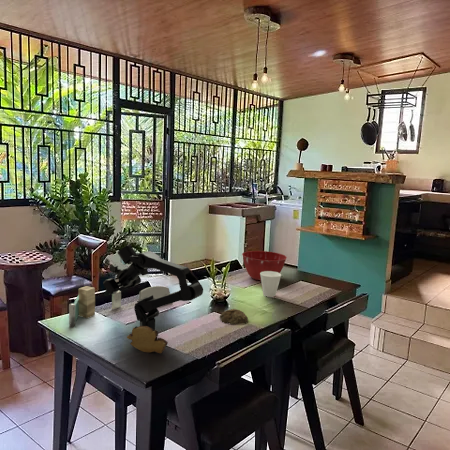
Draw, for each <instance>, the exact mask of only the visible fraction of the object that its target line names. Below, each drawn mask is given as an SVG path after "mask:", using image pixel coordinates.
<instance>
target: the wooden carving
mask: <svg viewBox="0 0 450 450" xmlns="http://www.w3.org/2000/svg"><path fill="white" fill-rule="evenodd" d="M157 330H158V329H156V330H153V329H152V328H150V327H147V326H140V325H139V326H135V327H133V328H132V331H131V333H129V334H128V335H127V336H126V338H127V339H128V340H130V345H131V346H132V347H134V348H135V349H136V350H139V351H140V352H144V353H154V352H155V353H157V354H163V352H164V351H165V350H166V349H165V348H166V346H168V343H169V341H167V340H166V339H165V338H162V337H158V336H159V331H158V332H157Z"/></svg>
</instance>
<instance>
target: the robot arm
mask: <svg viewBox="0 0 450 450" xmlns="http://www.w3.org/2000/svg"><path fill="white" fill-rule="evenodd" d="M117 254H118V257H120V259H121V260H122V262H121V261H117V262H113V263H112V264H110V265H109V271H110V272H111V273H112V274H115V275H116V276H115V277H116V279H117V280H118V281H116V280H115V278H112V277H110V278H108V279H105V280H103V282H102V283H103V286H104V288H105V290H104V294H103V295H104V297H109V296H112V294H115V293H117V292H118V291H121V292H122V291H125V290H126V289H127V290H128V289H130V288H133V287H136V286H137V285H139V284H140V283H141V282H142V279H141V277H140V276H146V275H148V274H149V270H148V269H155V270H158V271H161V272H164V273H167V274H169V275H172V276H175V277H176V278H177V279H178V284H179V285H178V286H179V290H177V291H175V292H172V293H170V294H168V295H165V296H162V297H159V298H153V295H152V296H150V297H146V298H143V299H141V300H139V299H138V300H137V301H136V303H135V304H134V308H133V309H134V313H135V316H136V317H135V318H136V320H137V321H139V326H147V327H150V328H152V329H153V330H157V332H158V333H159V330H158V329H156V317H158V316H159V315H160V311H159V309H158V308H161V307H164V306H168V305H172V304H171V303H173V304H174V303H177V302H188V301H189V302H190V301H193V300H195V299H197V298H198V297H199V298H200V297H201V296H202V295H203V293H204V287H203V285H202V284H201V283H200V281H199V279H198V277H197V276H195V274H194V273H192V272H191V269H190V268H189V267H188V266H183V265H181V264H178V263H175V262H172V261H169V260H166V259H162V258H160V256H159V255H158V254H157V253H155V252H153V251H150V250H148V251H144V252H139V253H136V251H135V250H134V248H133V246H132V245H131V244H127V245H126V246H124V247H122V248H121V249H119V250H118V251H117ZM126 265H129V266H128V267H127V266H126ZM188 282H189V283H190V284H188Z"/></svg>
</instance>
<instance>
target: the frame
mask: <svg viewBox="0 0 450 450" xmlns="http://www.w3.org/2000/svg"><path fill="white" fill-rule="evenodd" d="M121 307H122V291H120V290H119V291H118V292H117V293H115V294H112V295H111V310H117V309H119V308H121ZM68 314H69V315H68V318H69V319H68V324H69V325H68V327H69V328H70V329H74V328H76V322H75V304H74V302H72V303H69V305H68Z"/></svg>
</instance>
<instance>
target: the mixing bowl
mask: <svg viewBox="0 0 450 450" xmlns="http://www.w3.org/2000/svg"><path fill="white" fill-rule="evenodd" d="M241 256H242V260H243V263H244V267H245V270H246V272H247V274H248V275H249V277H251V278H252V279H253V280H255V281H258V280H260V281H259V282H261V276H260V273H261V272H264V271H273V272H278V273H280V274H281V272H282V270H283V268H284V266H285V264H286V260H287V258H288V257H287V255H284V254H282V253H279V252H273V251H267V250H265V251H264V250H250V251H245V252H243V253H242V254H241Z"/></svg>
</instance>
